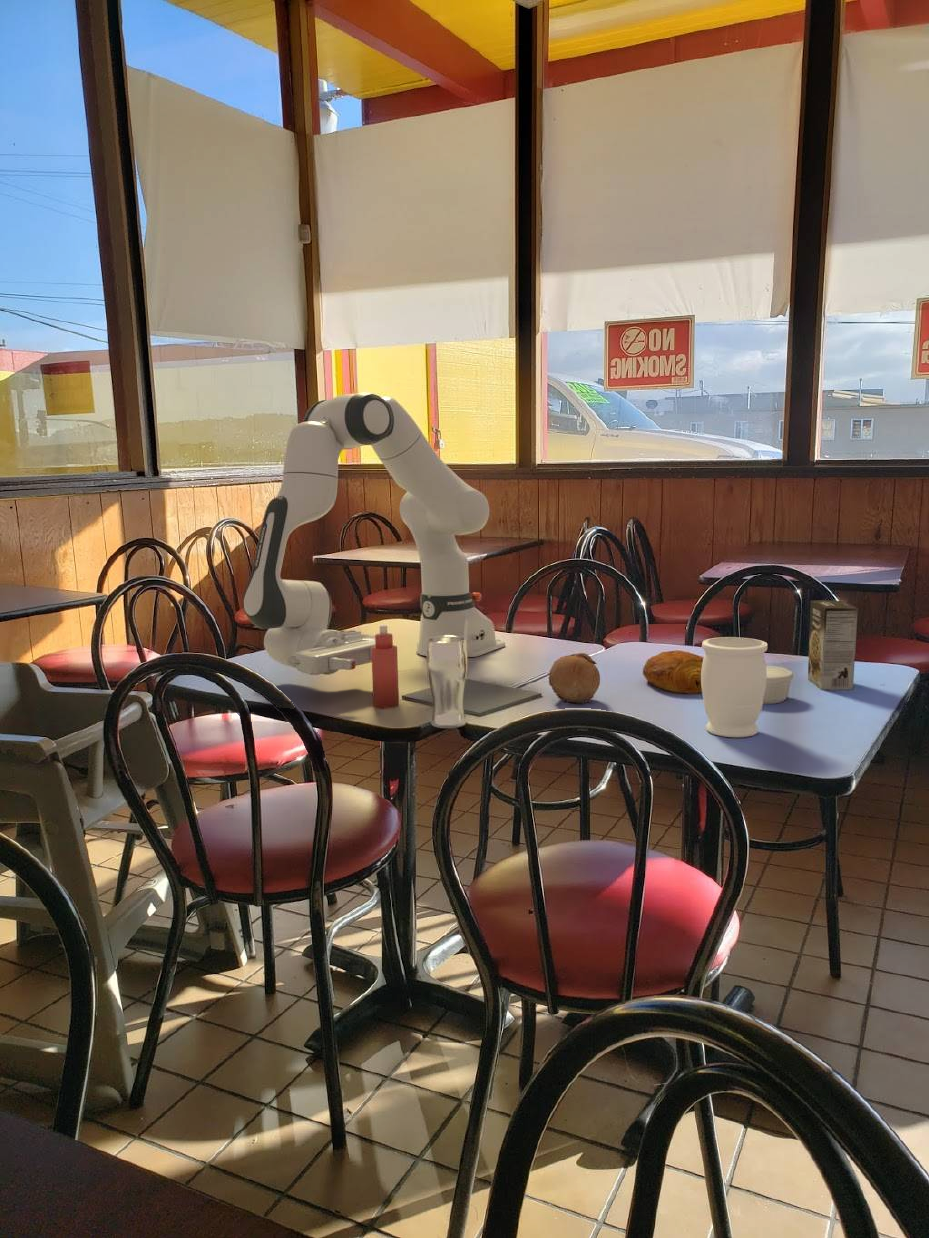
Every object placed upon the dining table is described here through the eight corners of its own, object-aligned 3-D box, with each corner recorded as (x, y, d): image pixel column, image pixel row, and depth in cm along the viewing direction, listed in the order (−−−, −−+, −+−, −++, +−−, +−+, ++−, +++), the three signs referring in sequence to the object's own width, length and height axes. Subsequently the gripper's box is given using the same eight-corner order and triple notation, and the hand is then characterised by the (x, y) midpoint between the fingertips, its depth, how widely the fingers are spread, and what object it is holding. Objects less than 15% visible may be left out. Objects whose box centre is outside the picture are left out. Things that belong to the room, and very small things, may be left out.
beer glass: (464, 730, 161) (462, 643, 159) (424, 728, 163) (421, 642, 160) (472, 718, 168) (470, 635, 166) (433, 717, 170) (431, 634, 167)
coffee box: (806, 679, 192) (809, 600, 189) (838, 678, 192) (842, 599, 189) (820, 690, 183) (823, 607, 180) (854, 689, 183) (858, 606, 180)
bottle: (386, 700, 182) (384, 623, 180) (404, 704, 179) (401, 625, 176) (368, 705, 179) (365, 626, 176) (385, 709, 176) (382, 629, 173)
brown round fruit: (587, 712, 182) (606, 663, 183) (590, 712, 173) (610, 660, 173) (540, 693, 183) (559, 645, 184) (541, 692, 174) (561, 641, 174)
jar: (701, 720, 164) (703, 635, 162) (764, 724, 161) (767, 637, 159) (698, 738, 154) (700, 647, 152) (765, 742, 151) (768, 650, 149)
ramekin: (716, 697, 180) (717, 670, 179) (753, 688, 186) (754, 661, 185) (766, 709, 171) (767, 680, 170) (804, 699, 177) (805, 671, 176)
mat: (464, 681, 196) (464, 678, 196) (541, 696, 183) (541, 693, 183) (401, 698, 183) (401, 695, 183) (479, 715, 170) (479, 712, 170)
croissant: (664, 708, 181) (666, 669, 179) (632, 679, 196) (634, 642, 193) (734, 700, 184) (737, 661, 182) (697, 672, 199) (700, 636, 196)
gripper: (281, 644, 181) (327, 653, 172) (362, 628, 196) (409, 636, 187) (283, 676, 182) (329, 687, 173) (363, 658, 197) (410, 667, 188)
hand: (371, 660), depth 180 cm, fingers open, 8 cm apart
